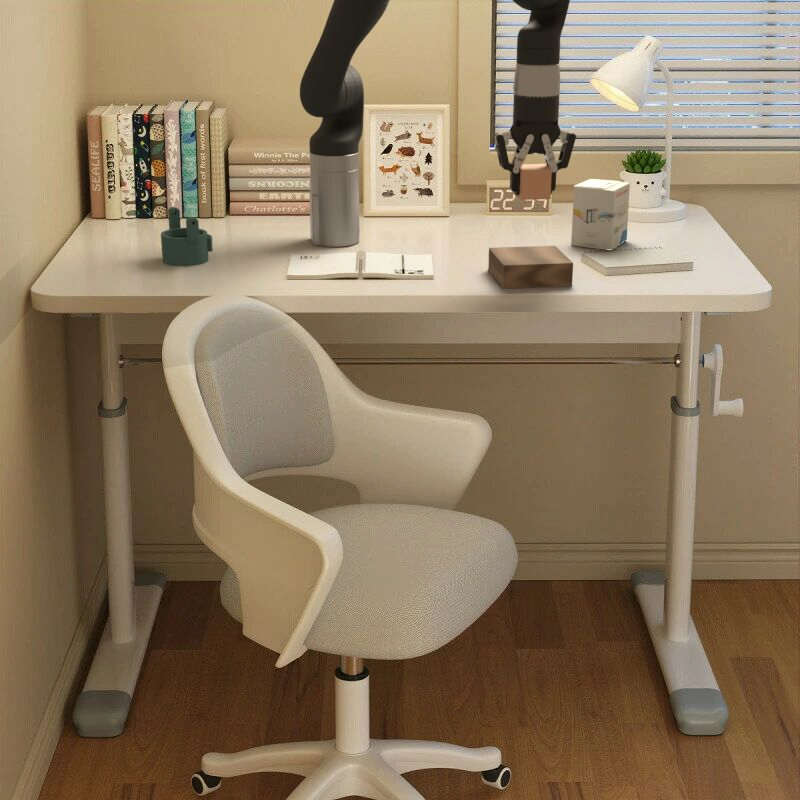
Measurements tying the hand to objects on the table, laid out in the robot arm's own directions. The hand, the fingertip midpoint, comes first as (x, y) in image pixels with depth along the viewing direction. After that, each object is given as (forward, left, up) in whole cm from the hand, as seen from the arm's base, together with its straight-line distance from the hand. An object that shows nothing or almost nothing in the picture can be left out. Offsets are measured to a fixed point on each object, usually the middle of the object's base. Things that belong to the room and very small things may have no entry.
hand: (532, 193), depth 212 cm
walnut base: (0, 0, -15) cm, 15 cm away
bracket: (-59, +20, -15) cm, 64 cm away
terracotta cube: (0, 0, 0) cm, 0 cm away
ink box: (+19, +22, -15) cm, 33 cm away
